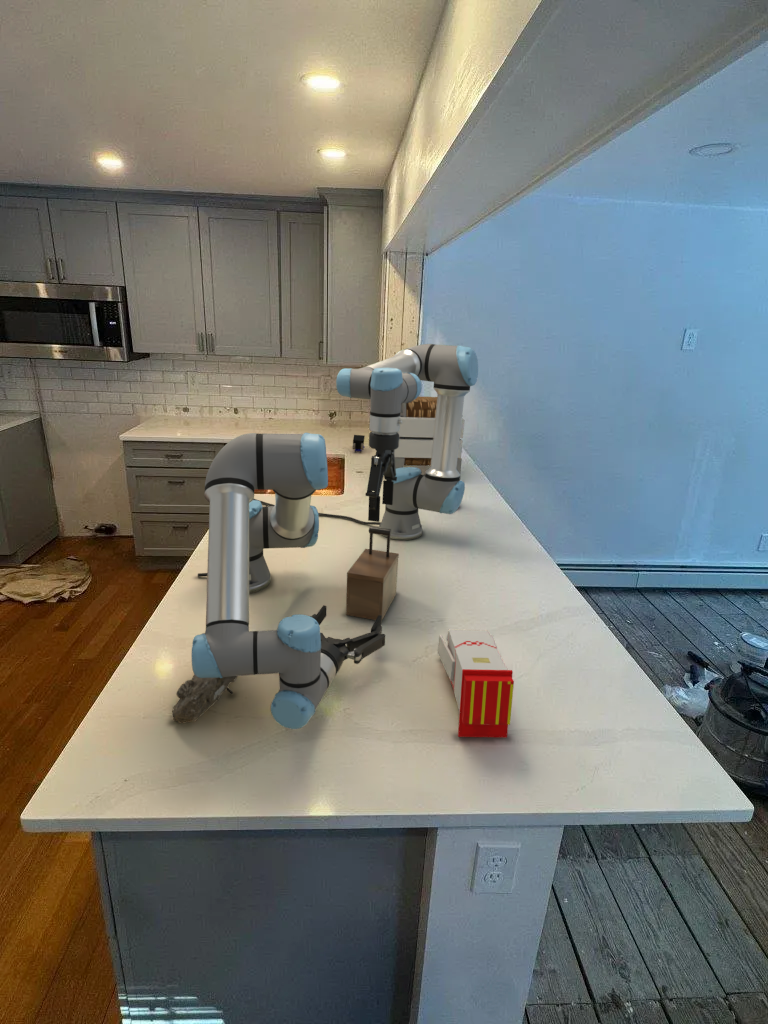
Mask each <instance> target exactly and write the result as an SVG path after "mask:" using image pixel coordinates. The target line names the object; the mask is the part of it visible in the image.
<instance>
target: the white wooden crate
mask: <svg viewBox="0 0 768 1024" xmlns="http://www.w3.org/2000/svg"><path fill="white" fill-rule="evenodd" d="M436 405H437V396H418V397H417V398H416V399H415V400H413V401H411V402H409V403H404V404H401V410H400V420H402V424H400V427H399V431H398V432H397V433H398V434H399V447H398V448H397V449H395V450H394V455H395V467H396V469H397V468H404V467H405V466H406V467H417V466H418V467H430V466H431V456H432V446H433V436H434V426H435V415H436ZM464 429H465V419H464V418H462V422H461V431H460V440H459V449H458V458H457V467H456V469H457V471H458V472H459V473H460V475H461V472H462V461H463V460H462V453H463V442H464V441H463V440H462V439H463V438H464V431H465V430H464Z"/></svg>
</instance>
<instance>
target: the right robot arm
mask: <svg viewBox="0 0 768 1024" xmlns="http://www.w3.org/2000/svg"><path fill="white" fill-rule="evenodd" d="M478 378H479V361H478V356H477V353H476V351H475V350H474V349H473V348H472V347H470V346H464V345H451V344H436V343H435V344H434V343H423V344H418V345H413V346H410V347H406V348H403V349H401V350H399V351H397V352H396V353H395V354H394V355H393V356H390V357H388V358H385V359H382V360H380V361H377V362H374V363H372V364H369V365H366V366H363V367H360V368H353V367H350V368H342V369H340V370H339V371H338V373H337V375H336V380H335V383H336V384H335V385H336V391H337V393H338V394H339V395H340V396H341V397H346V398H350V399H359V400H360V399H361V400H370V406H369V407H370V410H369V425H368V430H369V431H370V432H369V434H368V446H369V448H371V449H373V450H375V454H374V455H372V456H371V458H370V461H371V462H370V469H369V475H368V482H367V488H366V492H365V497H368V510H367V511H368V513H367V514H368V515H367V516H368V517H367V521H362V520H359V519H357V518H354V517H352V516H347V515H339V514H331V513H323V512H318V515H319V516H322V517H330V518H337V519H343V520H345V519H346V520H350V521H353V522H356V523H358V524H361V525H367V526H373V525H374V526H375V525H376V526H378V527H379V528H386V529H391V530H392V533H391V536H390V540H395V541H410V540H415V539H418V538H420V537H421V536H422V535H423V525H422V524H421V518H420V515H419V510H423V511H429V512H435V513H439V514H446V515H452V514H454V513H456V512H457V510H458V509H459V508H460V506H461V503H462V502H463V501H462V500H463V497H464V494H465V489H466V487H465V485H466V484H465V482H464V481H463V480H462V479H461V474H460V473H459V472H458V471H457V469H456V467H457V458H458V449H459V440H460V439H461V438H460V431H461V422H462V419H463V414H464V413H463V410H464V403H465V397H466V395H467V394H468V393H469V392H470V390H471V387H473V386H475V385H476V384H477V381H478ZM422 381H423V382H431V383H433V390H434V391H435V392H436V397H437V405H436V415H435V426H434V436H433V446H432V456H431V465H430V466H429V468H427V469H426V470H425V471H424V472H425V473H424V474H422V470H421V468H419V467H416V466H406V467H405V466H404V468H397V469H396V467H395V455H394V450H395V449H397V448H398V447H399V434H398V433H397V432H398V431H399V427H400V424H402V420H400V410H401V404H404V403H409V402H411V401H413V400H415V399H416V398H417V397H420V395H421V393H422V389H423V386H422ZM383 479H384V480H383ZM381 490H382V499H381V496H380V493H381ZM253 500H258V501H260V502H261V504H262V505H264V506H267V507H268V506H275V504H274V503H273V504H272V503H269V502H265V501H263V500H259V499H256V498H254V499H253ZM381 500H382V501H381ZM381 502H382V505H385V507H384V508H385V509H384V513H383V515H382V519H381V522H380V517H381V516H380V515H381V514H380V513H381ZM382 537H385V538H387V536H386V535H382Z"/></svg>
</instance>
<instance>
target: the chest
mask: <svg viewBox="0 0 768 1024" xmlns="http://www.w3.org/2000/svg"><path fill="white" fill-rule="evenodd" d="M398 570H399V558H398V559H397V561H396V563H395V564H394V566H393V568H392V569H391V571H390V573H389V574H388V576H387V578H386V579H385V581H384V583H381V582H375V581H369V580H363V579H357V578H350V577H347V576H346V603H345V605H346V606H345V611H346V612H345V615H346V616H351V617H356V618H362V619H367V620H372V621H376V619H377V617H378V615H381V616H382V620H384V618H385V616H386V614H387V612H388V611H389V608H390V606H391V604H392V603H393V601H394V599H395V598H396V595H397V589H398V588H397V586H398Z"/></svg>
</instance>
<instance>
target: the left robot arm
mask: <svg viewBox="0 0 768 1024" xmlns="http://www.w3.org/2000/svg"><path fill="white" fill-rule="evenodd" d="M326 445H327V444H326V440H325V437H324V435H322V434H320V433H310V432H303V433H265V432H264V433H257V432H249V433H244V434H241V435H239V436H236V437H235V438H233V439H231V440H230V441H229V442H227V443H226V444H225V445H224V446H222V448H221V449H220V450H219V451H218V452H217V454H216V455H215V456H214V458H213V460H212V461H211V463H210V466H209V467H208V470H207V473H206V477H205V482H204V498H205V500H206V501H207V502H208V503H209V507H208V508H209V509H208V510H209V511H208V515H209V516H208V543H207V572H202V573H201V572H200V573H197V577H198V578H199V577H200V578H201V577H202V578H203V577H206V578H207V579H206V605H205V610H206V611H205V612H206V613H205V631H204V632H203V633H201V634H195V636H194V637H193V639H192V643H191V644H192V646H191V668H192V671H193V675H194V674H195V675H196V676H197V677H198V678H223V677H231V676H237V677H242V676H243V677H244V676H255V675H271V674H273V675H274V674H278V684H279V687H278V692H276V693H275V694H274V697H273V699H272V701H271V704H270V713H271V716H272V718H273V719H274V721H275V722H276V723H277V724H279V725H280V726H281V727H283V728H286V729H289V730H300V729H302V728H303V727H306V725H307V724H308V723H309V721H310V719H311V718H312V717H313V716H314V715H315V714H316V712H317V711H316V710H317V709H318V707H319V705H320V703H321V702H322V700H323V699H324V696H325V694H326V693H327V691H328V690H329V688H330V686H331V684H332V682H333V681H334V679H335V677H336V676H337V674H338V672H339V671H340V669H341V668H342V665H343V663H344V662H345V661H346V660H348V659H350V660H353V663H354V664H355V665H359V664H360V663H361V661H363V659H365V658H367V657H368V656H370V655H371V654H373V653H375V652H377V651H378V650H380V649H381V648H383V647H385V646H386V634H385V633H383V626H382V621H383V619H382V616H381V615H378V617H377V619H376V620H374V622H373V624H372V626H371V627H370V632H366V633H364V634H362V635H358V636H355V637H352V638H351V637H346V638H343V639H342V638H335V637H331V636H328V637H326V636H325V635H324V633H323V632H321V626H320V625H321V624H322V623H323V621H325V618H327V605H325V604H324V605H322V606H321V607H320V609H319V610H318V612H317V613H314V614H312V615H307V614H302V613H301V614H299V613H298V614H292V615H291V616H286V617H283V618H282V619H281V620H280V621H279V622H278V625H277V629H270V630H269V629H268V630H254V631H253V630H252V631H250V594H253V593H256V592H260V591H262V590H264V589H266V588H267V587H268V586H269V585H270V584H271V580H272V579H271V577H272V576H271V575H272V574H271V571H270V569H269V567H268V564H267V561H266V558H265V556H264V549H266V550H267V549H268V550H269V549H290V548H292V549H294V548H295V549H296V548H300V549H305V548H310V547H313V546H316V544H317V542H318V539H319V531H320V530H319V529H320V517H319V516H320V515H318V513H319V511H318V509H317V507H316V506H315V505H311V502H312V495H314V494H315V492H316V491H320V490H324V489H327V488H328V486H329V470H328V469H329V468H328V456H327V446H326ZM256 490H257V491H273V493H274V498H275V499H274V502H275V503H274V505H275V506H268V505H267V506H263V504H261V502H260V501H261V500H260V501H258V500H259V499H256V500H253V499H255V491H256Z"/></svg>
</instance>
